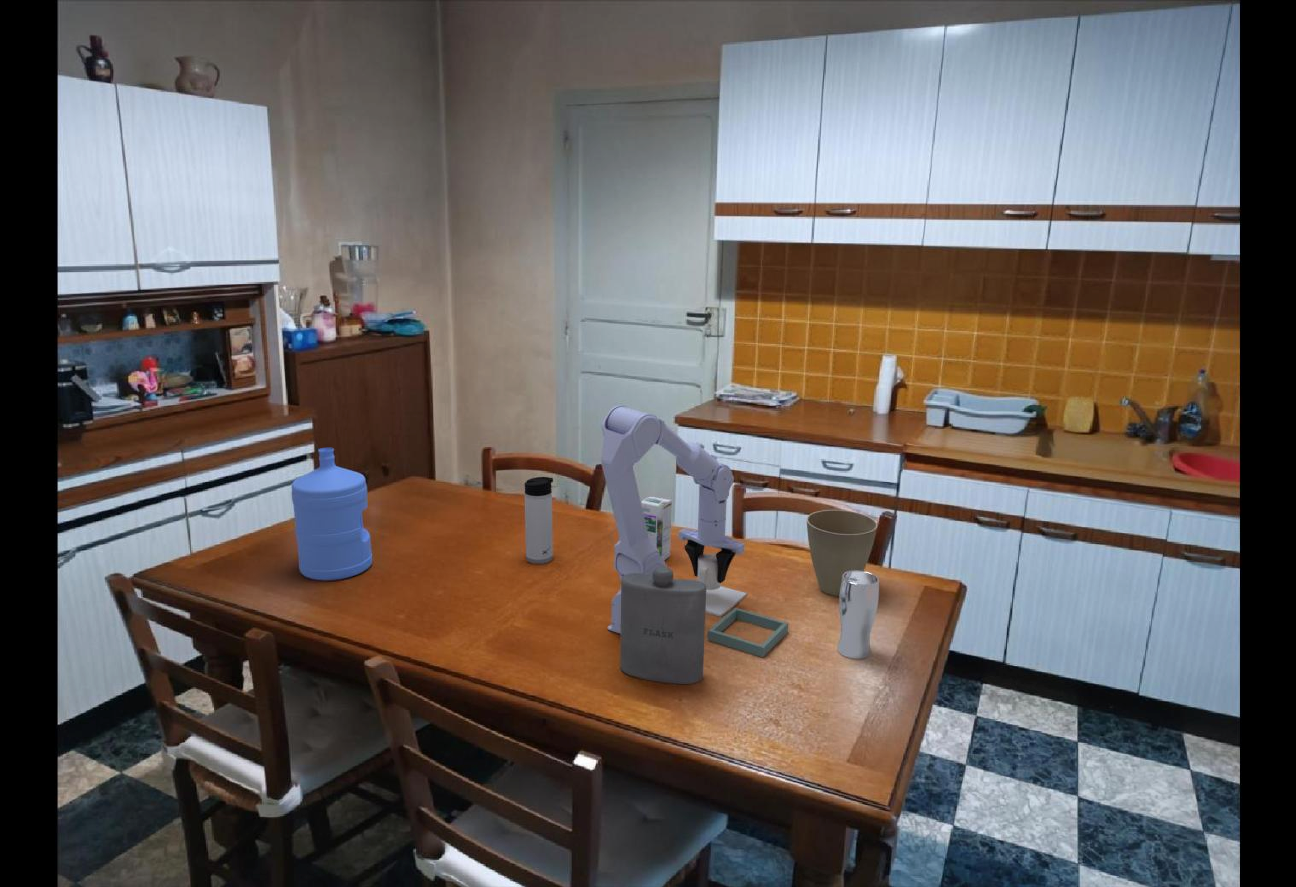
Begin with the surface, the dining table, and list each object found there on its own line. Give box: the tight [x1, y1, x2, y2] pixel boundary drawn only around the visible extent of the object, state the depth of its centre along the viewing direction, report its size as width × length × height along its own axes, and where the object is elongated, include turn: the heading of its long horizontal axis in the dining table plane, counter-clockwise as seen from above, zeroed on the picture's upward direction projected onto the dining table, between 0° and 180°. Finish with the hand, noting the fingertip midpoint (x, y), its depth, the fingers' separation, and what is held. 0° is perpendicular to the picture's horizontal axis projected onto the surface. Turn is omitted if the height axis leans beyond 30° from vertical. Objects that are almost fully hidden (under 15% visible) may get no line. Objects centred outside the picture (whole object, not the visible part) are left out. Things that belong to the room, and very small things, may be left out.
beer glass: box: [837, 570, 880, 660], centre depth 148 cm, size 7×7×15 cm
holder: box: [707, 607, 789, 658], centre depth 155 cm, size 12×12×2 cm
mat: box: [705, 585, 747, 618], centre depth 170 cm, size 12×12×1 cm
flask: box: [619, 566, 706, 685], centre depth 139 cm, size 15×6×20 cm, turn 76°
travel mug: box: [524, 476, 554, 565], centre depth 186 cm, size 6×7×20 cm
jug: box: [696, 553, 722, 590], centre depth 168 cm, size 7×5×6 cm
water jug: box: [291, 447, 373, 581], centre depth 179 cm, size 16×16×28 cm
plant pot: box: [806, 509, 878, 597], centre depth 174 cm, size 15×15×16 cm
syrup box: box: [641, 496, 673, 561], centre depth 189 cm, size 6×6×14 cm
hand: (709, 578), depth 169 cm, fingers closed on jug, 5 cm apart
